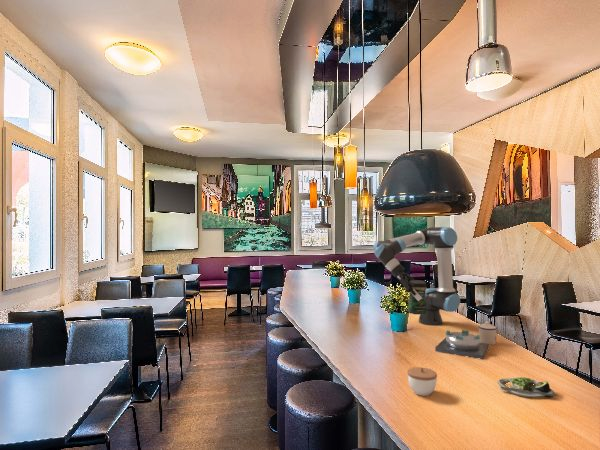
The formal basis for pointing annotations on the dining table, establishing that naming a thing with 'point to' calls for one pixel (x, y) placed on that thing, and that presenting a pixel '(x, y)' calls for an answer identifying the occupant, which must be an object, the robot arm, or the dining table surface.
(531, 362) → the dining table surface
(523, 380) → the salad plate
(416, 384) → the lidded jar
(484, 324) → the teacup with lid
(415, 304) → the coffee jar
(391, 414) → the dining table surface
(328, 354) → the dining table surface
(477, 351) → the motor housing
